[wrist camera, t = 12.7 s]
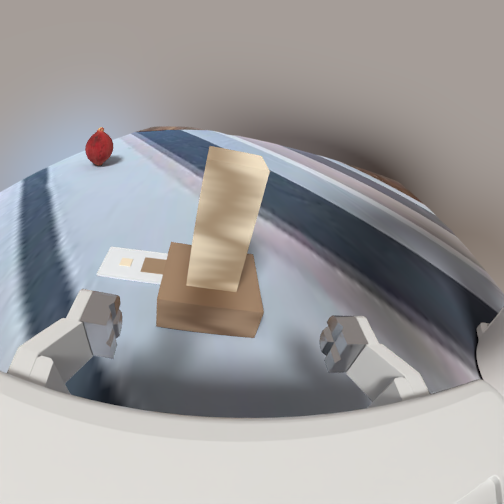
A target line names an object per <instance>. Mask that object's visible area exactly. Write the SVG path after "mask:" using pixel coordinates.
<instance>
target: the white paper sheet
mask: <svg viewBox="0 0 504 504" xmlns="http://www.w3.org/2000/svg"><path fill="white" fill-rule="evenodd" d="M167 256H168V254H166V253H158V252H150V251H142V250H134V249H126V248H118V247H111V248H110V249H109V251H108V253H107V255H106V257H105V259H104V261H103V263H102V264H101V266H100V268H99V270H98V272H97V276H102V277H108V278H115V279H122V280H129V281H136V282H144V283H152V284H159V285H160V284H161V280H162V276H163V272H164V268H165V264H166V260H167Z"/></svg>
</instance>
